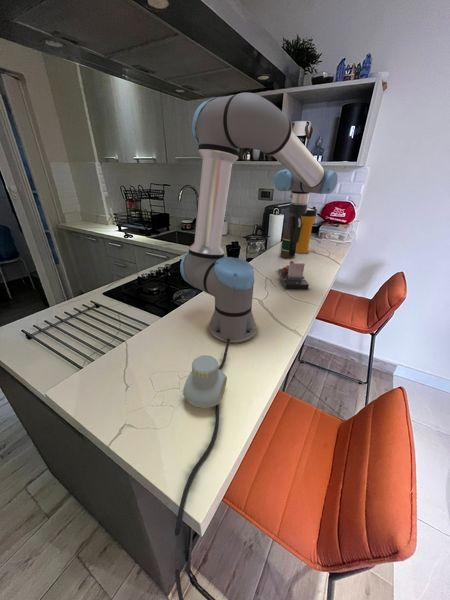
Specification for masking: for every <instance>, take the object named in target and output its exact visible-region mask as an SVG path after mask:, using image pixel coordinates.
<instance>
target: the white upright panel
mask: <svg viewBox="0 0 450 600" xmlns="http://www.w3.org/2000/svg"><path fill="white" fill-rule="evenodd" d="M288 265H289V270H288V277H287V278H288V280H302V276H303V277H304V270H305V262H304V261H293V260H290V261H289V263H288Z"/></svg>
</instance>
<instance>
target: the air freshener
mask: <svg viewBox="0 0 450 600" xmlns="http://www.w3.org/2000/svg"><path fill="white" fill-rule="evenodd" d="M218 368H219V361H218V360H217V358H215V357H214V356H213V355H209V354H204V355H199V356H197V357H195V358H194V359H193V360H192V362H191V371H190V373H189V374H188V376H187V378H186V380H185V382H184V386H183V391H182V392H183V393H182V395H183V397H184V398H185V400H186V401H187V402H188V403H189V404H191V405H192V406H194V407H197V408H202V409H207V408H208V409H209V408H212V407H216V405H218V404H220V403H221V401H222V399H223V396H224V394H225V390H226V387H227V381H228V376H227V375H226V373H225V372H224V371H223V370H222V369H221V370H219V369H218Z"/></svg>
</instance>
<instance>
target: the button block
mask: <svg viewBox="0 0 450 600" xmlns="http://www.w3.org/2000/svg"><path fill="white" fill-rule="evenodd" d="M278 274H280V276H281V274H282V275H288V271H287V270H286V266H284V267H282V268H278Z"/></svg>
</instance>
